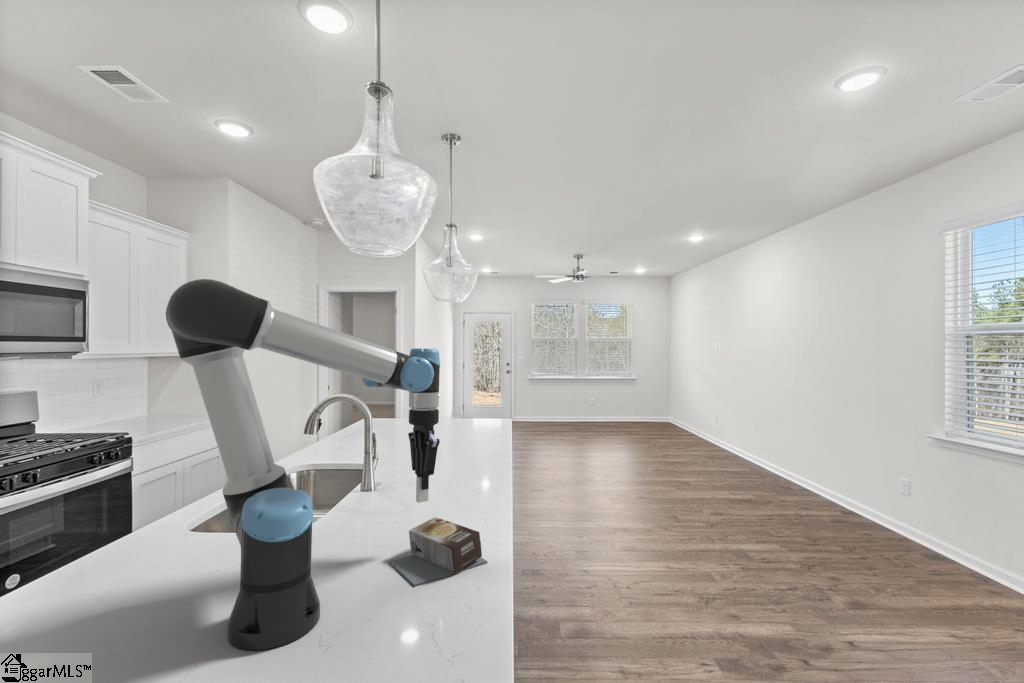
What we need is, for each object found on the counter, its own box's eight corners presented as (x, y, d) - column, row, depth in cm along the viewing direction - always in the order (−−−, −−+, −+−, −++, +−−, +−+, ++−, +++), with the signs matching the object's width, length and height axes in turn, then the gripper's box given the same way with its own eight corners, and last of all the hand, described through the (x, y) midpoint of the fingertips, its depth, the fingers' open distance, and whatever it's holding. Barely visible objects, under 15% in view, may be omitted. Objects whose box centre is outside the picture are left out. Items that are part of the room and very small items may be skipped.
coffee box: (435, 515, 120) (481, 530, 110) (437, 538, 121) (483, 556, 111) (407, 530, 113) (453, 547, 103) (410, 555, 114) (455, 575, 103)
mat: (414, 586, 99) (414, 584, 99) (389, 563, 109) (389, 561, 109) (487, 562, 110) (487, 561, 110) (458, 543, 121) (458, 542, 121)
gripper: (449, 410, 115) (447, 505, 114) (425, 404, 125) (423, 491, 125) (422, 412, 110) (420, 511, 110) (399, 406, 120) (397, 496, 120)
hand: (422, 500), depth 117 cm, fingers closed
